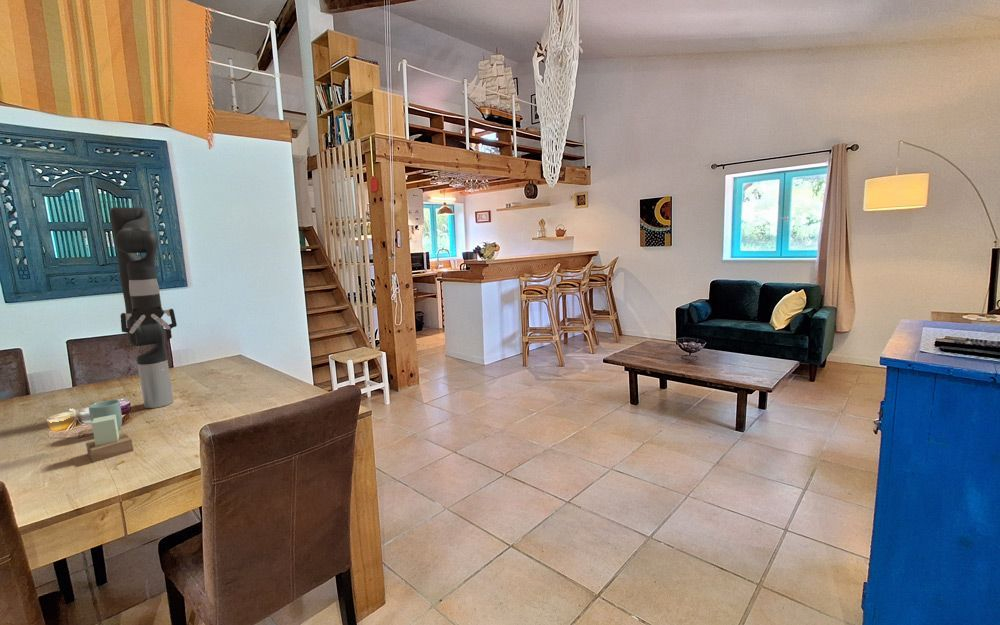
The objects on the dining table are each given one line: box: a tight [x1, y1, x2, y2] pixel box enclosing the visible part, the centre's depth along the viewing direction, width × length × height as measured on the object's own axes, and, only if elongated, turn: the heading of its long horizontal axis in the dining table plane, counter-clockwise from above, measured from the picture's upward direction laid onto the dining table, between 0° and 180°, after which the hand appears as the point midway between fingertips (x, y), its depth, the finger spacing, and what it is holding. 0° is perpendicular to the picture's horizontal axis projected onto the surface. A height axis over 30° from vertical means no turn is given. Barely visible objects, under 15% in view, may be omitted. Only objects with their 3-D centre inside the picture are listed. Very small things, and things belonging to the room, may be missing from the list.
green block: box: [91, 414, 120, 446], centre depth 134 cm, size 5×5×7 cm
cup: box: [88, 399, 123, 431], centre depth 150 cm, size 8×8×10 cm
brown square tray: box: [85, 432, 134, 463], centre depth 135 cm, size 9×9×4 cm
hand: (152, 342), depth 149 cm, fingers open, 8 cm apart
